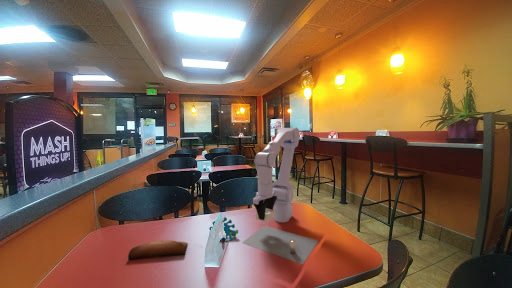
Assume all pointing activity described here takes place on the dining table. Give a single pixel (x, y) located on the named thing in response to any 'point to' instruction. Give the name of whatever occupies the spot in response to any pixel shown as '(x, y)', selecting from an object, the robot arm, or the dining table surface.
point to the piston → (292, 246)
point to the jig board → (281, 243)
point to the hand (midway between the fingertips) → (265, 216)
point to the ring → (267, 215)
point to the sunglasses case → (158, 249)
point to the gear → (228, 229)
